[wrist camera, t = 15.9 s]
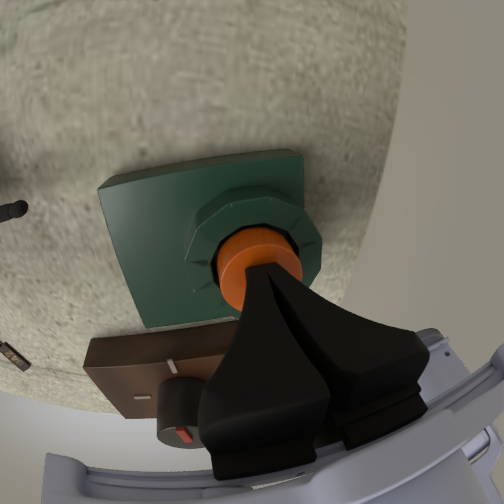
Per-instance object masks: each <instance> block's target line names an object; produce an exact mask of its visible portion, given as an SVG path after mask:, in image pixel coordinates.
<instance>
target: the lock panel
mask: <svg viewBox="0 0 504 504" xmlns="http://www.w3.org/2000/svg"><path fill="white" fill-rule="evenodd" d="M238 322H239V320H238V321H232V322H226V323H220V324H214V325H208V326H201V327H195V328H188V329H181V330H174V331H166V332H158V333H150V334H141V335H132V336H122V337H112V338H100V339H91V340H90V344H89V347H88V350H87V354H86V357H85V361H84V365H83V369H84V370H85V372H86V373H87V374H88V375H89V377H90V378H91V379H92V381H93V382H94V383H95V384H96V386H97V387H98V388H99V389H100V390H101V392H102V393H103V394H104V395H105V396H106V398H107V399H108V400H109V401H110V402H111V403H112V404H113V406H114V407H115V408H116V409H117V410H118V411H119V412H120V413H121V414H122V415H123V416H124V418H125V419H143V418H157V391H158V388H159V386H160V385H161V384H162V383H164V382H166V381H168V380H171V379H175V378H194V379H199V380H202V381H205V382H208V381H209V379H210V378H211V376H212V375H213V373H214V372H215V371H216V369H217V367H218V366H219V364H220V362H221V360H222V359H223V357H224V355H225V353H226V351H227V349H228V347H229V345H230V343H231V341H232V338H233V336H234V333H235V331H236V328H237V325H238Z"/></svg>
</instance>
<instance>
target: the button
mask: <svg viewBox="0 0 504 504" xmlns="http://www.w3.org/2000/svg"><path fill="white" fill-rule="evenodd" d="M273 262H277V263H278V264H279V265H281V266H282V267H283V268H284V269H285V270H287V271H288V272H289V273H290V274H291V275H293V276H294V277H295V278H296V279H297V280H299V281H300V282H301V281H302V266H301V263H300V261H299V259H298V257H297V256H296V254H295V253H294V251H293V249H292V248H291V246H290V245H289V243H288V242H287V240H286V239H285V238H284V237H283V236H282V235H281V234H280V233H278V232H277V231H274V230H272V229H269V228H264V227H253V228H248V229H244V230H242V231H240V232H237V233H236V234H234V235H233V236H231V237H230V238H229V239H228V240H227V241H226V242H225V243H224V245H223V246H222V248H221V250H220V252H219V254H218V259H217V269H218V276H219V283H220V289H221V293H222V295H223V297H224V298H225V300H226V301H227V302H228V303H229V304H230V305H231V306H232V307H234V308H235V309H237V310H239V311H242V308H243V303H244V299H245V291H246V277H245V269H246V268H247V267H250V266H255V265H261V264H267V263H273Z"/></svg>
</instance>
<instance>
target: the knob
mask: <svg viewBox="0 0 504 504" xmlns="http://www.w3.org/2000/svg"><path fill="white" fill-rule="evenodd" d="M206 384H207V382H205V381H202V380H199V379H194V378H175V379H171V380H168V381H166V382H164V383H162V384H161V385H160V386H159V388H158V391H157V438H158V440H159V441H161V442H162V443H164V444H166V445H169V446H172V447H177V448H184V449H195V448H204V447H205V446H204V445H203V443H202V442H201V440H200V437H199V429H198V411H199V405H200V400H201V396H202V392H203V388H204V386H205V385H206Z"/></svg>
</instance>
